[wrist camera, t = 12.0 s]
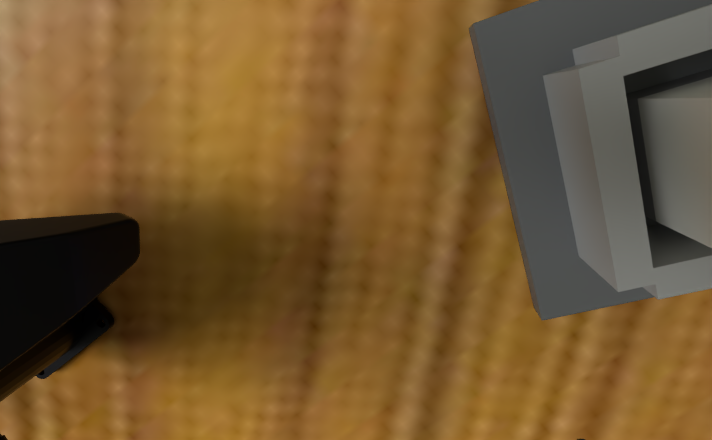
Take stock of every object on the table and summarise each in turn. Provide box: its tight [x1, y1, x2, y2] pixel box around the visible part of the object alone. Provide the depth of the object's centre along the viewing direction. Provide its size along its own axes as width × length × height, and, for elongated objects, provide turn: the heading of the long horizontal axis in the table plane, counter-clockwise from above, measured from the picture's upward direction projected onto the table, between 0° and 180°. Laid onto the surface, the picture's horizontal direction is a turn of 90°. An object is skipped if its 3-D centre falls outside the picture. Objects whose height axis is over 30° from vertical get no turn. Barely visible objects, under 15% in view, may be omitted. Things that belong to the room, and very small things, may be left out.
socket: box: [469, 0, 712, 320], centre depth 15 cm, size 13×13×5 cm
